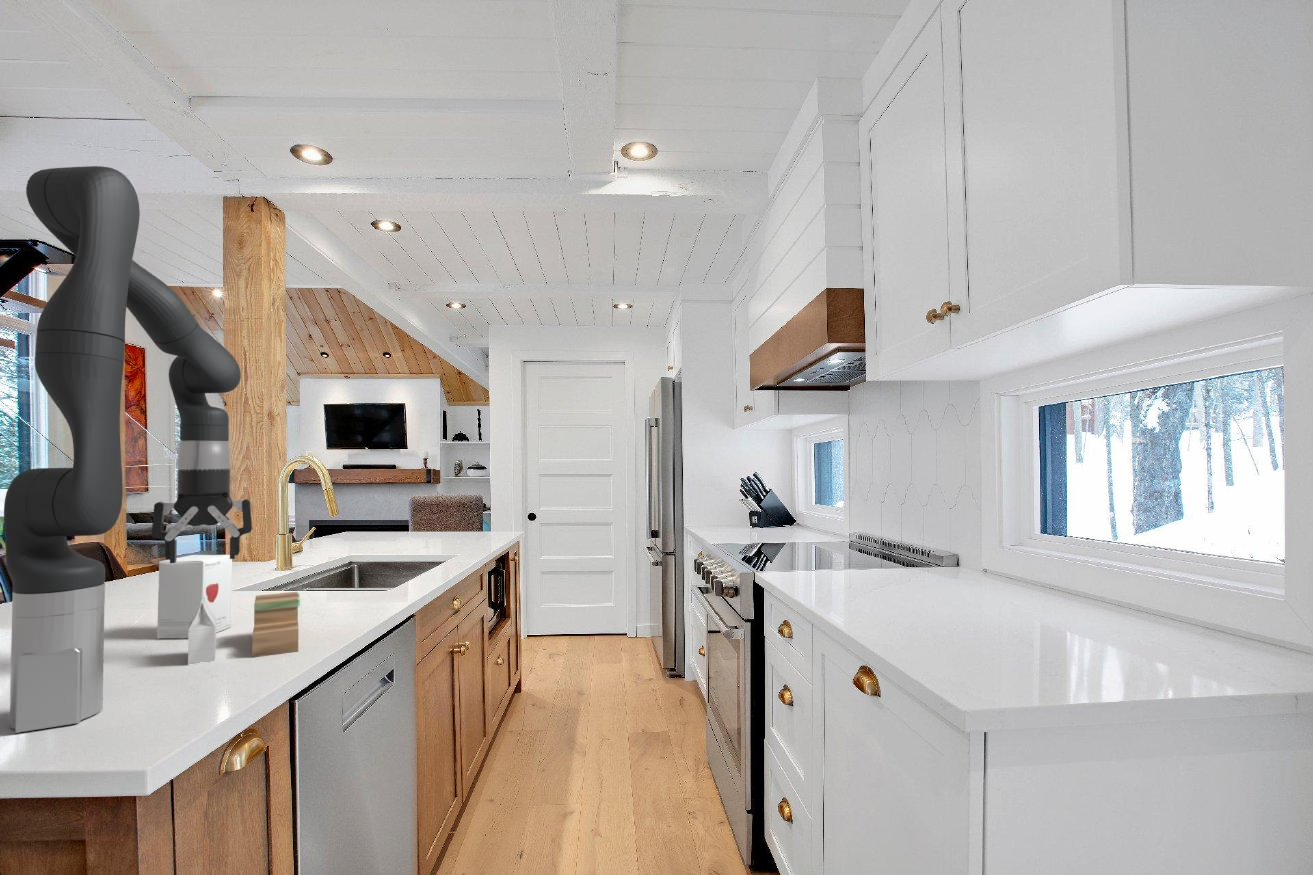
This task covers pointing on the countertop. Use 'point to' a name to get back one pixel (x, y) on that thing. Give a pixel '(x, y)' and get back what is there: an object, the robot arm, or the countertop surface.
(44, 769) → the countertop surface
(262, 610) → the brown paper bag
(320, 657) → the countertop surface
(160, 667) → the countertop surface
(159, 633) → the supplement box
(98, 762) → the countertop surface
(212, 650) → the white milk carton
